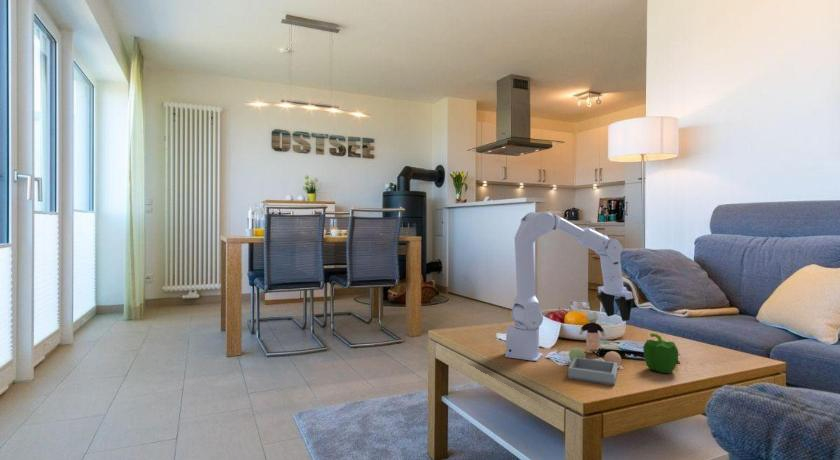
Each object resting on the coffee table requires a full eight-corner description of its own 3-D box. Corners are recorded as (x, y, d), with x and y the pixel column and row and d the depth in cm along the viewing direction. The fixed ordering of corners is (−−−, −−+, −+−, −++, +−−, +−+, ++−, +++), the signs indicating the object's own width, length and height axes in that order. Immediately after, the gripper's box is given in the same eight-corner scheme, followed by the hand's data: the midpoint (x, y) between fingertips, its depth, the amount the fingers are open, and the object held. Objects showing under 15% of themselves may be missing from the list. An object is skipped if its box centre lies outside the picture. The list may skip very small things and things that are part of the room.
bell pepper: (684, 372, 123) (684, 335, 123) (667, 377, 118) (668, 339, 118) (654, 364, 130) (654, 329, 130) (637, 369, 125) (637, 333, 125)
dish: (568, 378, 117) (568, 368, 117) (574, 367, 127) (574, 357, 127) (614, 385, 112) (614, 374, 112) (617, 373, 122) (617, 362, 122)
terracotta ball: (603, 368, 126) (603, 352, 126) (604, 364, 130) (605, 348, 130) (620, 370, 124) (620, 354, 124) (621, 366, 128) (621, 350, 128)
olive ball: (567, 363, 130) (567, 348, 130) (570, 359, 134) (570, 345, 134) (583, 366, 128) (584, 350, 128) (585, 362, 132) (586, 346, 132)
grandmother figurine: (602, 350, 144) (602, 310, 144) (606, 353, 140) (606, 313, 140) (577, 349, 145) (578, 310, 145) (580, 353, 141) (581, 312, 141)
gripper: (638, 275, 137) (644, 319, 137) (609, 271, 151) (614, 311, 152) (618, 280, 135) (624, 324, 136) (590, 275, 149) (596, 315, 150)
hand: (618, 317), depth 144 cm, fingers open, 7 cm apart
